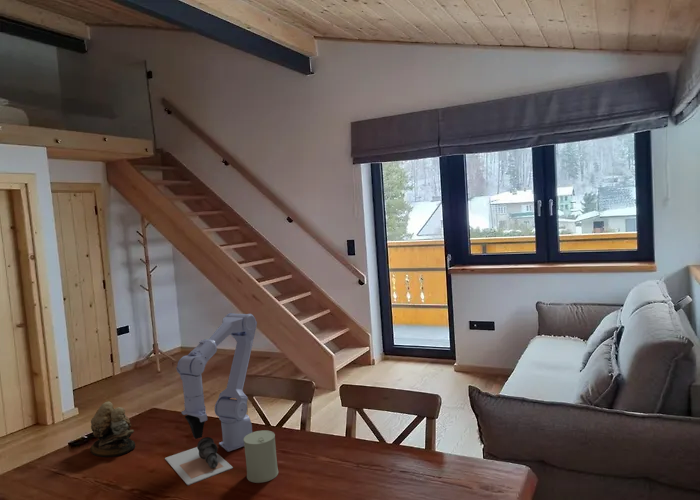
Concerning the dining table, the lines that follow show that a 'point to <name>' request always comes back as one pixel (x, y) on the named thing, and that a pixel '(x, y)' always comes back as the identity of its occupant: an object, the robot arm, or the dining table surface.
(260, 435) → the can
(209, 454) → the dark grey chess piece
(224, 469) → the mat
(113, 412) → the rock sculpture
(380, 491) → the dining table surface
